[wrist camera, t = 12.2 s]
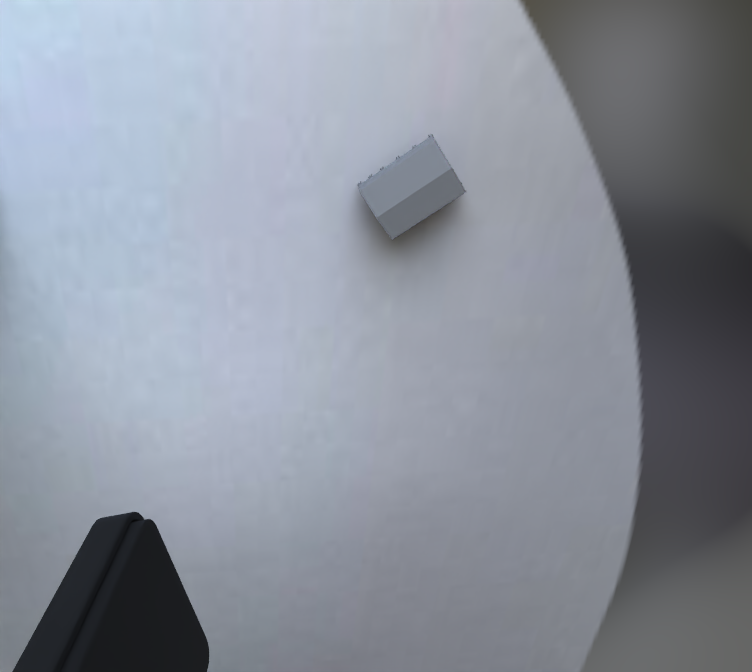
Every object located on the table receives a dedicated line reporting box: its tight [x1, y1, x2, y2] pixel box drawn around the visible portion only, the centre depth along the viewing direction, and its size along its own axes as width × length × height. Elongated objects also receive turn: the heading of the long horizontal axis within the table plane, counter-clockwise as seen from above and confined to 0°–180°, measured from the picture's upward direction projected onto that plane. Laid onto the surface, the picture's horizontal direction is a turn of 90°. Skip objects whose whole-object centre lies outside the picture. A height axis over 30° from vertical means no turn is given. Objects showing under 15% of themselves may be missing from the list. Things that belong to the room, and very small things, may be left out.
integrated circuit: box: [358, 134, 466, 240], centre depth 21 cm, size 2×3×2 cm
